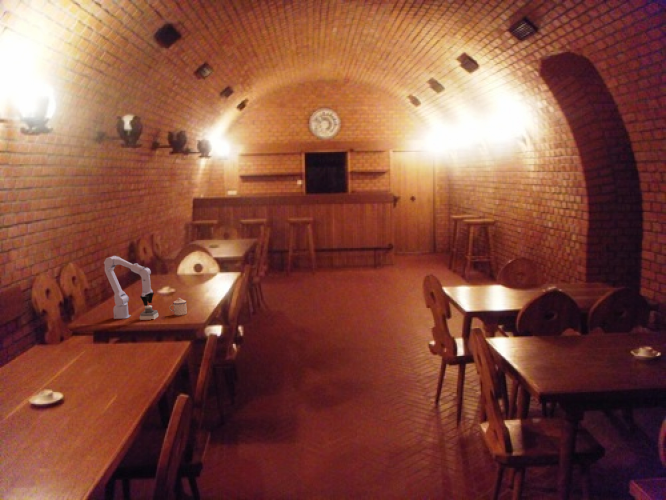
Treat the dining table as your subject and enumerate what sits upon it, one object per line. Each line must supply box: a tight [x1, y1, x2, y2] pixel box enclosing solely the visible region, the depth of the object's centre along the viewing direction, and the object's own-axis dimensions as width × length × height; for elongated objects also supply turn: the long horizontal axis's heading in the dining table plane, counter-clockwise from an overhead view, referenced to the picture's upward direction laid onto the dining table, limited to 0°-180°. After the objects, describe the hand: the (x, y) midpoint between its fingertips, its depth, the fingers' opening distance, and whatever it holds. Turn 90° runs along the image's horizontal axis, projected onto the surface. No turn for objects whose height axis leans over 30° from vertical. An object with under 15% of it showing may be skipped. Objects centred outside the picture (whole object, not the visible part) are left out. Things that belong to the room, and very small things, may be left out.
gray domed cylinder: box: [144, 304, 154, 313], centre depth 412 cm, size 5×5×6 cm
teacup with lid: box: [168, 297, 188, 316], centre depth 420 cm, size 12×9×12 cm
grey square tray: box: [139, 309, 159, 321], centre depth 413 cm, size 10×9×4 cm
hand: (148, 304), depth 414 cm, fingers open, 7 cm apart
